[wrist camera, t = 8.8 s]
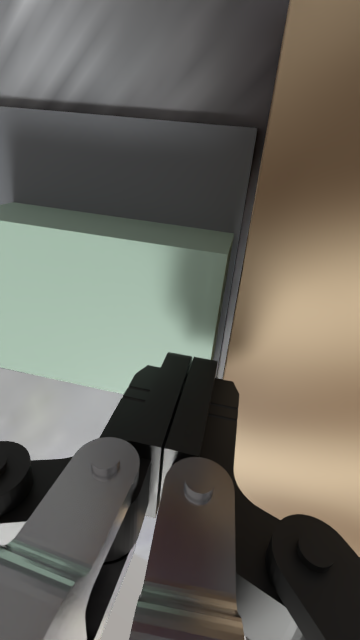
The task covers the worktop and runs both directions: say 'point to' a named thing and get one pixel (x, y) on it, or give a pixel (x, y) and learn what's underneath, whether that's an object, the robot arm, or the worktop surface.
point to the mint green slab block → (105, 293)
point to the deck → (304, 283)
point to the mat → (130, 171)
